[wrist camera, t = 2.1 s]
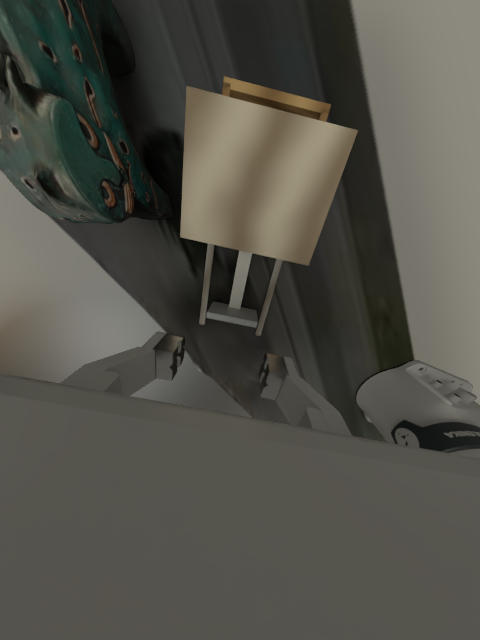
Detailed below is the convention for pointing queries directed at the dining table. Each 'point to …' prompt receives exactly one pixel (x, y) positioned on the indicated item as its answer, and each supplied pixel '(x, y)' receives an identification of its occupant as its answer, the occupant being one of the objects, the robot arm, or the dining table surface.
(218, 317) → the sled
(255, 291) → the dining table surface
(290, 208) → the tunnel
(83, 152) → the green backpack
